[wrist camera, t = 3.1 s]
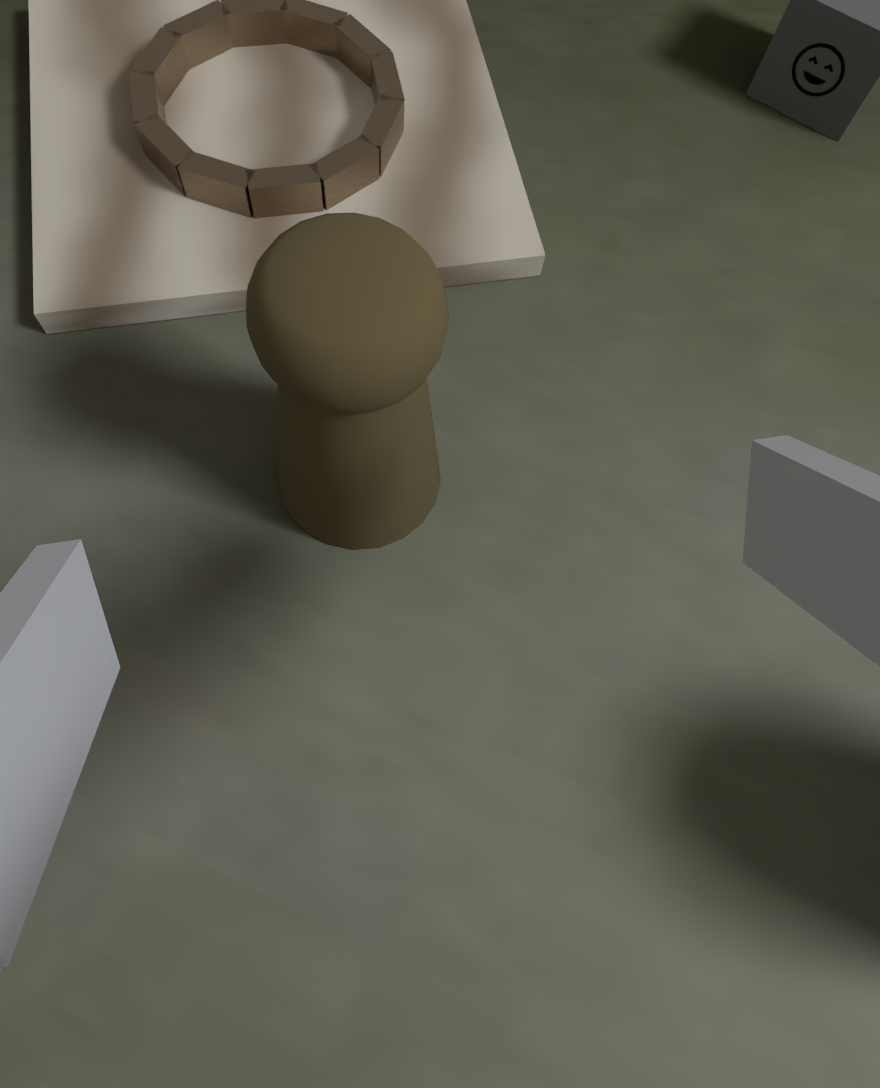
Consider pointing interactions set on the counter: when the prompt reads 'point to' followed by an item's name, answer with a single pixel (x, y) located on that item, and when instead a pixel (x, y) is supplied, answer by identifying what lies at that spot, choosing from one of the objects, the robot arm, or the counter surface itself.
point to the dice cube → (821, 63)
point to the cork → (351, 374)
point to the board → (252, 158)
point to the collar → (253, 20)
